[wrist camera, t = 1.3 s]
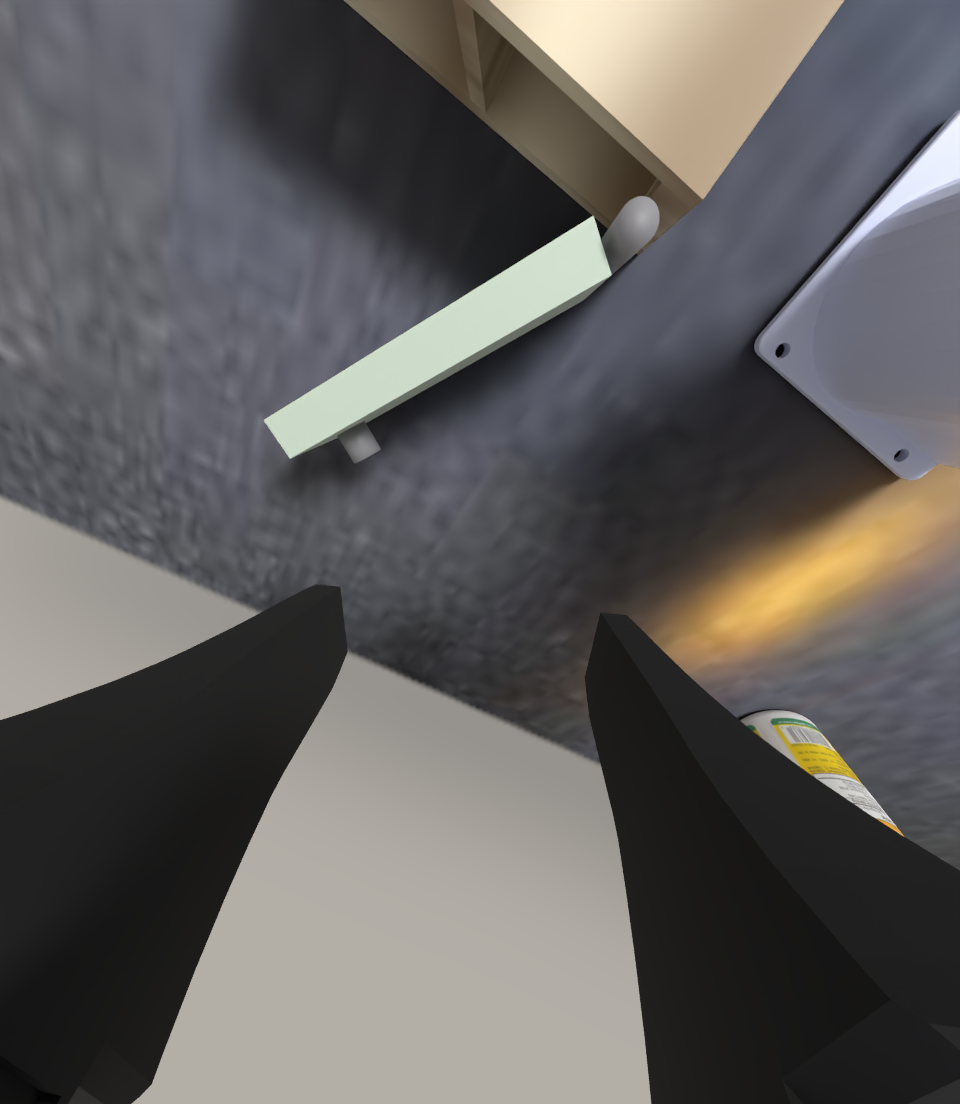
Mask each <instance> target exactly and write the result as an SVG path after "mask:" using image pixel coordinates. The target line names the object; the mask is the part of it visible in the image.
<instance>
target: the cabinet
mask: <svg viewBox="0 0 960 1104" xmlns="http://www.w3.org/2000/svg"><path fill="white" fill-rule="evenodd" d="M344 1H345V2H346V3H347V4H348V5H350V6H351V7H352V8H353V9H354V10H355V11H356V12H358V13H359V14H360V15H361V16H362V17H363V18H365V19H366V20H367V21H368V22H369V23H370V24H371V25H373V26H374V27H375V28H376V29H377V30H378V31H380V32H381V33H382V34H383V35H384V36H385V37H387V38H388V39H389V40H390V41H391V42H392V43H393V44H395V45H396V46H397V47H398V48H399V49H400V50H402V51H403V52H404V53H405V54H406V55H407V56H409V57H410V58H411V59H412V60H413V61H414V62H415V63H417V64H418V65H419V66H420V67H421V68H422V69H424V70H425V71H426V72H427V73H428V74H429V75H431V76H432V77H433V78H434V79H435V80H436V81H437V82H439V83H440V84H441V85H442V86H443V87H444V88H446V89H447V90H448V91H449V92H450V93H451V94H452V95H454V96H455V97H456V98H457V99H458V100H459V101H461V102H462V103H463V104H464V105H465V106H466V107H468V108H469V109H470V110H471V111H472V112H473V113H474V114H476V115H477V116H478V117H479V118H480V119H481V120H483V121H484V122H485V123H486V124H487V125H488V126H490V127H491V128H492V129H493V130H494V131H495V132H496V133H498V134H499V135H500V136H501V137H502V138H503V139H505V140H506V141H507V142H508V143H509V144H510V145H512V146H513V147H514V148H515V149H516V150H517V151H518V152H520V153H521V154H522V155H523V156H524V157H525V158H527V159H528V160H529V161H530V162H531V163H532V164H534V165H535V166H536V167H537V168H538V169H539V170H540V171H542V172H543V173H544V174H545V175H546V176H547V177H549V178H550V179H551V180H552V181H553V182H554V183H555V184H557V185H558V186H559V187H560V188H561V189H562V190H564V191H565V192H566V193H567V194H568V195H569V196H571V197H572V198H573V199H574V200H575V201H576V202H577V203H579V204H580V205H581V206H582V207H583V208H584V209H586V210H587V211H588V212H589V213H590V214H591V215H594V217H595V218H596V219H597V220H598V221H599V222H601V223H602V224H603V225H604V226H605V227H606V228H608V229H609V227H610V226H611V224H612V223H613V221H614V220H615V218H616V217H617V216H618V214H619V213H620V211H621V210H622V208H623V207H624V206H625V205H626V203H628V202H629V201H630V200H631V199H633V198H635V197H639V196H646V197H649V198H651V199H652V200H653V201H654V202H655V203H656V205H657V207H658V210H659V216H660V218H659V225H658V228H657V231H656V233H655V235H654V236H653V238H652V239H651V240H650V241H649V242H648V243H647V244H646V245H645V246H644V247H642V248H641V249H640V250H639V251H638V252H637V254H638V255H639V254H640V253H642V252H643V251H644V250H645V249H646V248H647V247H649V246H650V245H651V244H652V243H653V242H654V241H656V240H657V239H658V238H659V237H660V236H661V235H662V234H664V233H665V232H666V231H667V230H668V229H669V228H671V227H672V226H673V225H674V224H675V223H676V222H678V221H679V220H680V219H681V218H682V217H683V216H685V215H686V214H687V213H688V212H689V211H690V210H692V209H693V208H694V207H695V206H696V205H697V204H698V203H700V202H701V201H702V200H703V199H704V197H705V196H706V195H707V193H708V192H709V190H710V189H711V188H712V186H713V185H714V183H715V182H716V181H717V179H718V178H719V176H720V175H721V173H722V172H723V171H724V169H725V168H726V166H727V165H728V164H729V162H730V161H731V159H732V158H733V157H734V155H735V154H736V152H737V151H738V150H739V148H740V147H741V145H742V144H743V142H744V141H745V140H746V138H747V137H748V135H749V134H750V133H751V131H752V130H753V128H754V127H755V126H756V124H757V123H758V121H759V120H760V118H761V117H762V116H763V114H764V113H765V111H766V110H767V109H768V107H769V106H770V104H771V103H772V102H773V100H774V99H775V97H776V96H777V95H778V93H779V92H780V90H781V89H782V87H783V86H784V85H785V83H786V82H787V80H788V79H789V78H790V76H791V75H792V73H793V72H794V71H795V69H796V68H797V66H798V65H799V63H800V62H801V61H802V59H803V58H804V56H805V55H806V54H807V52H808V51H809V49H810V48H811V47H812V45H813V44H814V42H815V41H816V40H817V38H818V37H819V35H820V34H821V32H822V31H823V30H824V28H825V27H826V25H827V24H828V23H829V21H830V20H831V18H832V17H833V16H834V14H835V13H836V11H837V10H838V8H839V7H840V6H841V4H842V3H843V1H844V0H344Z"/></svg>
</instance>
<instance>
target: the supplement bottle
mask: <svg viewBox="0 0 960 1104" xmlns="http://www.w3.org/2000/svg"><path fill="white" fill-rule="evenodd" d="M740 721H741V722H742V723H743V724H745V725H746V726H747V727H748V728H750V729H751V730H752V731H753V732H755V733H756V734H757V735H759V736H760V737H761V738H762V739H764V740H765V741H766V742H768V743H769V744H770V745H772V746H773V747H774V748H776V749H777V750H778V751H779V752H781V753H782V754H783V755H785V756H786V757H787V758H789V759H790V760H791V761H793V762H794V763H795V764H797V765H798V766H800V767H801V768H802V769H804V770H805V771H807V772H808V773H809V774H811V775H812V776H814V777H815V778H816V779H818V780H819V781H821V782H822V783H824V784H825V785H827V786H828V787H830V788H831V789H833V790H834V791H836V792H837V793H838V794H840V795H841V796H843V797H844V798H846V799H847V800H849V801H850V802H852V803H853V804H855V805H856V806H858V807H859V808H861V809H862V810H863V811H865V812H867V813H868V814H870V815H871V816H873V817H874V818H876V819H877V820H879V821H880V822H882V823H884V824H885V825H887V826H888V827H890V828H891V829H893V830H895V831H896V832H898V833H899V834H901V835H902V836H904V835H903V834H902V833H901V832H900V830H899V829H898V828H897V827H896V825H895V824H894V823H893V822H892V820H891V819H890V818H889V817H888V815H887V814H886V813H885V812H884V810H883V809H882V808H881V807H880V805H879V804H878V803H877V802H876V800H875V799H874V798H873V797H872V795H871V794H870V793H869V792H868V790H867V789H866V788H865V787H864V785H863V784H862V783H861V782H860V780H859V779H858V778H857V777H856V775H855V774H854V773H853V772H852V770H851V769H850V768H849V767H848V765H847V764H846V763H845V762H844V760H843V759H842V758H841V757H840V755H839V754H838V753H837V752H836V750H835V749H834V748H833V747H832V745H831V744H830V743H829V742H828V740H827V739H826V738H825V737H824V735H823V734H822V733H821V732H820V731H819V729H818V728H817V727H816V726H815V725H814V724H813V723H812V722H811V721H810V720H808V719H807V718H805V717H804V716H802V715H799V714H797V713H794V712H790V711H784V710H768V711H762V712H758V713H755V714H752V715H749V716H747V717H745V718H743V719H741V720H740Z"/></svg>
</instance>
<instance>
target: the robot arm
mask: <svg viewBox="0 0 960 1104" xmlns="http://www.w3.org/2000/svg"><path fill="white" fill-rule="evenodd" d="M780 344H783V346H784V352H783V354H782V355H781V356H780V357H778V358H777V357H776V355H775V351H776V349H777V347H778V346H779V345H780ZM754 348H755V352H756V354H757V355H758V356H759V357H760V358H762V359H763V360H764V361H765V362H766V363H767V364H768V365H770V366H771V367H772V368H773V369H774V370H775V371H777V372H778V373H779V374H780V375H781V376H782V377H783V378H785V379H786V380H787V381H788V382H789V383H790V384H792V385H793V386H794V387H795V388H796V389H797V390H798V391H800V392H801V393H802V394H803V395H804V396H805V397H807V398H808V399H809V400H810V401H811V402H812V403H814V404H815V405H816V406H817V407H818V408H819V409H820V410H822V411H823V412H824V413H825V414H826V415H827V416H829V417H830V418H831V419H832V420H833V421H834V422H835V423H837V424H838V425H839V426H840V427H841V428H842V429H844V430H845V431H846V432H847V433H848V434H849V435H850V436H852V437H853V438H854V439H855V440H856V441H857V442H859V443H860V444H861V445H862V446H863V447H864V448H865V449H867V450H868V451H869V452H870V453H871V454H872V455H874V456H875V457H876V458H877V459H878V460H879V461H880V462H882V463H883V464H884V465H885V466H886V467H887V468H889V469H890V470H891V471H892V472H893V473H894V474H895V475H897V476H898V477H900V478H902V479H905V480H916V479H919V478H920V477H922V476H924V475H925V474H926V473H927V472H929V471H930V470H931V469H932V468H934V467H935V466H936V465H937V464H942V465H946V466H950V467H954V468H958V469H960V109H959V110H957V111H956V112H955V113H954V114H953V115H952V116H951V117H949V119H948V120H947V121H946V122H945V123H944V124H943V125H942V127H941V128H940V129H939V130H938V131H937V132H936V133H935V135H934V136H933V137H932V138H931V139H930V140H929V141H928V143H927V144H926V145H925V146H924V147H923V148H922V149H921V150H920V152H919V153H918V154H917V155H916V156H915V157H914V158H913V160H912V161H911V162H910V163H909V164H908V165H907V166H906V168H905V169H904V170H903V171H902V172H901V173H900V174H899V176H898V177H897V178H896V179H895V180H894V181H893V182H892V184H891V185H890V186H889V187H888V188H887V189H886V190H885V192H884V193H883V194H882V195H881V196H880V197H879V198H878V200H877V201H876V202H875V203H874V204H873V205H872V206H871V208H870V209H869V210H868V211H867V212H866V213H865V214H864V216H863V217H862V218H861V219H860V220H859V221H858V222H857V224H856V225H855V226H854V227H853V228H852V229H851V230H850V232H849V233H848V234H847V235H846V236H845V237H844V238H843V240H842V241H841V242H840V243H839V244H838V245H837V246H836V248H835V249H834V250H833V251H832V252H831V253H830V254H829V256H828V257H827V258H826V259H825V260H824V261H823V262H822V264H821V265H820V266H819V267H818V268H817V269H816V270H815V272H814V273H813V274H812V275H811V276H810V277H809V278H808V280H807V281H806V282H805V283H804V284H803V285H802V286H801V288H800V289H799V290H798V291H797V292H796V293H795V294H794V296H793V297H792V298H791V299H790V300H789V301H788V302H787V304H786V305H785V306H784V307H783V308H782V309H781V310H780V312H779V313H778V314H777V315H776V316H775V317H774V318H773V319H772V321H771V322H770V323H769V324H768V325H767V326H766V327H765V329H764V330H763V331H762V332H761V333H760V334H759V336H758V337H757V339H756V341H755V345H754ZM899 450H901V452H900V454H899V456H898V457H896V458H895V459H894V456H895V454H896V453H897V452H898V451H899ZM346 654H347V643H346V634H345V625H344V617H343V608H342V599H341V590H340V587H336V586H326V585H314V586H312V587H309V588H307V589H305V590H303V591H301V592H299V593H297V594H295V595H293V596H291V597H290V598H288V599H286V600H284V601H282V602H280V603H278V604H276V605H275V606H273V607H271V608H269V609H267V610H265V611H263V612H261V613H260V614H258V615H256V616H254V617H252V618H250V619H248V620H246V621H245V622H243V623H241V624H239V625H237V626H235V627H233V628H231V629H229V630H227V631H225V632H223V633H221V634H219V635H217V636H215V637H213V638H210V639H209V640H206V641H204V642H202V643H200V644H198V645H196V646H194V647H192V648H190V649H188V650H186V651H184V652H182V653H179V654H177V655H175V656H173V657H170V658H168V659H166V660H164V661H162V662H159V663H157V664H155V665H152V666H149V667H147V668H145V669H142V670H140V671H137V672H135V673H132V674H130V675H128V676H125V677H123V678H120V679H118V680H115V681H112V682H110V683H107V684H104V685H102V686H99V687H96V688H93V689H90V690H88V691H85V692H82V693H79V694H76V695H74V696H71V697H68V698H65V699H62V700H59V701H57V702H54V703H51V704H48V705H45V706H43V707H40V708H37V709H34V710H31V711H28V712H25V713H22V714H19V715H16V716H12V717H9V718H6V719H3V720H0V1104H131V1103H133V1102H134V1101H135V1100H136V1099H137V1098H139V1097H140V1096H141V1095H142V1094H143V1093H144V1092H145V1090H146V1089H147V1088H148V1087H149V1086H150V1085H151V1084H152V1082H153V1079H154V1076H155V1074H156V1071H157V1068H158V1065H159V1063H160V1060H161V1057H162V1054H163V1052H164V1049H165V1046H166V1044H167V1042H168V1039H169V1036H170V1034H171V1031H172V1029H173V1026H174V1023H175V1020H176V1018H177V1016H178V1013H179V1010H180V1008H181V1005H182V1002H183V1000H184V997H185V995H186V992H187V990H188V987H189V985H190V982H191V979H192V977H193V974H194V971H195V969H196V967H197V964H198V962H199V959H200V957H201V954H202V952H203V950H204V947H205V945H206V942H207V940H208V938H209V935H210V933H211V930H212V928H213V926H214V923H215V921H216V918H217V916H218V913H219V911H220V908H221V906H222V903H223V901H224V899H225V897H226V894H227V892H228V890H229V887H230V885H231V883H232V881H233V879H234V876H235V874H236V872H237V869H238V867H239V865H240V863H241V860H242V858H243V856H244V854H245V851H246V849H247V847H248V844H249V842H250V840H251V838H252V836H253V834H254V832H255V829H256V827H257V825H258V823H259V821H260V819H261V817H262V814H263V812H264V810H265V808H266V806H267V804H268V802H269V799H270V797H271V795H272V793H273V791H274V789H275V788H276V786H277V784H278V782H279V780H280V778H281V776H282V775H283V773H284V771H285V769H286V767H287V766H288V764H289V762H290V761H291V759H292V757H293V756H294V754H295V752H296V750H297V749H298V747H299V745H300V744H301V742H302V740H303V738H304V737H305V735H306V733H307V731H308V730H309V728H310V726H311V725H312V723H313V721H314V719H315V718H316V716H317V714H318V712H319V711H320V709H321V707H322V706H323V704H324V702H325V700H326V699H327V697H328V695H329V693H330V692H331V690H332V688H333V686H334V683H335V681H336V679H337V676H338V674H339V672H340V669H341V667H342V664H343V662H344V659H345V657H346ZM585 682H586V692H587V701H588V709H589V717H590V721H591V726H592V730H593V734H594V738H595V742H596V747H597V751H598V755H599V759H600V763H601V767H602V771H603V775H604V779H605V783H606V787H607V792H608V796H609V800H610V804H611V808H612V812H613V816H614V821H615V826H616V831H617V836H618V841H619V847H620V854H621V861H622V867H623V874H624V881H625V887H626V894H627V901H628V908H629V916H630V923H631V930H632V938H633V945H634V953H635V960H636V968H637V977H638V985H639V994H640V1002H641V1010H642V1019H643V1027H644V1036H645V1045H646V1055H647V1064H648V1074H649V1084H650V1094H651V1103H652V1104H960V871H959V870H958V869H956V868H955V867H953V866H951V865H950V864H948V863H946V862H945V861H943V860H941V859H940V858H938V857H937V856H935V855H933V854H932V853H930V852H928V851H927V850H925V849H923V848H922V847H920V846H918V845H917V844H915V843H914V842H912V841H910V840H909V839H907V838H905V837H904V836H902V835H901V834H899V833H898V832H896V831H895V830H893V829H891V828H890V827H888V826H887V825H885V824H884V823H882V822H880V821H879V820H877V819H876V818H874V817H873V816H871V815H870V814H868V813H867V812H865V811H863V810H862V809H861V808H859V807H858V806H856V805H855V804H853V803H852V802H850V801H849V800H847V799H846V798H844V797H843V796H841V795H840V794H838V793H837V792H836V791H834V790H833V789H831V788H830V787H828V786H827V785H825V784H824V783H822V782H821V781H819V780H818V779H816V778H815V777H814V776H812V775H811V774H809V773H808V772H807V771H805V770H804V769H802V768H801V767H800V766H798V765H797V764H795V763H794V762H793V761H791V760H790V759H789V758H787V757H786V756H785V755H783V754H782V753H781V752H779V751H778V750H777V749H776V748H774V747H773V746H772V745H770V744H769V743H768V742H766V741H765V740H764V739H762V738H761V737H760V736H759V735H757V734H756V733H755V732H753V731H752V730H751V729H750V728H748V727H747V726H746V725H745V724H743V723H742V722H741V721H740V720H738V719H737V718H736V717H735V716H734V715H732V714H731V713H730V712H729V711H728V710H727V709H725V708H724V707H723V706H722V705H721V704H720V703H719V702H717V701H716V700H715V699H714V698H713V697H712V696H710V695H709V694H708V693H707V692H706V691H705V690H704V689H703V688H701V687H700V686H699V685H698V684H697V683H696V682H695V681H694V680H693V679H692V678H691V677H689V676H688V675H687V674H686V673H685V672H684V671H683V670H682V669H681V668H680V667H679V666H678V665H677V664H676V663H675V662H674V661H673V660H672V659H671V658H670V657H669V656H667V655H666V654H665V653H664V652H663V651H662V650H661V649H660V648H659V647H658V646H657V645H656V644H655V643H654V642H653V641H652V640H651V639H650V638H649V637H648V636H647V635H646V634H645V633H644V632H643V631H642V630H641V629H640V628H639V627H638V626H637V625H636V624H635V623H634V622H633V621H632V620H631V619H630V618H629V617H628V616H626V615H617V614H607V613H600V617H599V621H598V625H597V630H596V634H595V638H594V642H593V646H592V650H591V655H590V659H589V663H588V667H587V671H586V675H585Z"/></svg>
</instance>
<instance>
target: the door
mask: <svg viewBox="0 0 960 1104" xmlns="http://www.w3.org/2000/svg"><path fill="white" fill-rule="evenodd" d="M659 218H660V216H659V210H658V207H657V205H656V203H655V202H654V201H653V200H652V199H651V198H649V197H646V196H639V197H635V198H633V199H631V200H630V201H629V202H628V203H626V205H625V206H624V207H623V208H622V210H621V211H620V213H619V214H618V216H617V217H616V218H615V220H614V221H613V223H612V224H611V226H610V227H609V229H608V230H607V231H606V233H605V234H604V236H603V237H602V239H601V238H600V235H599V232H598V229H597V225H596V222H595V219H594V215H593V216H592V217H590V218H589V219H587V220H585V221H584V222H582V223H581V224H579V225H577V226H576V227H574V228H573V229H571V230H569V231H568V232H566V233H564V234H563V235H561V236H560V237H558V238H556V239H555V240H553V241H552V242H550V243H548V244H547V245H545V246H544V247H542V248H540V249H539V250H537V251H535V252H534V253H532V254H531V255H529V256H527V257H526V258H524V259H523V260H521V261H519V262H518V263H516V264H515V265H513V266H511V267H510V268H508V269H506V270H505V271H503V272H502V273H500V274H498V275H497V276H495V277H494V278H492V279H490V280H489V281H487V282H486V283H484V284H482V285H481V286H479V287H477V288H476V289H474V290H473V291H471V292H469V293H468V294H466V295H465V296H463V297H461V298H460V299H458V300H457V301H455V302H453V303H452V304H450V305H448V306H447V307H445V308H444V309H442V310H440V311H439V312H437V313H436V314H434V315H432V316H431V317H429V318H428V319H426V320H424V321H423V322H421V323H419V324H418V325H416V326H415V327H413V328H411V329H410V330H408V331H407V332H405V333H403V334H402V335H400V336H399V337H397V338H395V339H394V340H392V341H390V342H389V343H387V344H386V345H384V346H382V347H381V348H379V349H378V350H376V351H374V352H373V353H371V354H370V355H368V356H366V357H365V358H363V359H361V360H360V361H358V362H357V363H355V364H353V365H352V366H350V367H349V368H347V369H345V370H344V371H342V372H341V373H339V374H337V375H336V376H334V377H332V378H331V379H329V380H328V381H326V382H324V383H323V384H321V385H320V386H318V387H316V388H315V389H313V390H312V391H310V392H308V393H307V394H305V395H303V396H302V397H300V398H299V399H297V400H295V401H294V402H292V403H291V404H289V405H287V406H286V407H284V408H283V409H281V410H279V411H278V412H276V413H274V414H273V415H271V416H270V417H268V418H266V419H265V420H264V421H265V423H266V424H267V426H268V427H269V429H270V430H271V432H272V433H273V434H274V436H275V437H276V439H277V440H278V442H279V443H280V445H281V446H282V448H283V449H284V450H285V452H286V453H287V455H288V456H289V458H290V459H291V458H293V457H295V456H298V455H300V454H302V453H305V452H307V451H309V450H311V449H314V448H316V447H318V446H321V445H323V444H325V443H327V442H330V441H332V440H334V439H337V438H339V440H340V441H341V443H342V444H343V446H344V448H345V449H346V451H347V452H348V454H349V456H350V457H351V459H352V460H353V462H354V464H356V463H358V462H360V461H362V460H363V459H365V458H367V457H369V456H371V455H373V454H374V453H376V452H378V451H379V450H381V448H380V446H379V445H378V443H377V441H376V440H375V438H374V436H373V435H372V433H371V431H370V429H369V428H368V426H367V424H366V423H367V422H369V421H371V420H373V419H374V418H376V417H378V416H380V415H381V414H383V413H385V412H387V411H389V410H390V409H392V408H394V407H396V406H397V405H399V404H401V403H403V402H405V401H406V400H408V399H410V398H412V397H413V396H415V395H417V394H419V393H420V392H422V391H424V390H426V389H428V388H429V387H431V386H433V385H435V384H436V383H438V382H440V381H442V380H443V379H445V378H447V377H449V376H451V375H452V374H454V373H456V372H458V371H459V370H461V369H463V368H465V367H466V366H468V365H470V364H472V363H474V362H475V361H477V360H479V359H481V358H482V357H484V356H486V355H488V354H490V353H491V352H493V351H495V350H497V349H498V348H500V347H502V346H504V345H505V344H507V343H509V342H511V341H513V340H514V339H516V338H518V337H520V336H521V335H523V334H525V333H527V332H528V331H530V330H532V329H534V328H536V327H537V326H539V325H541V324H543V323H544V322H546V321H548V320H550V319H551V318H553V317H555V316H557V315H559V314H560V313H562V312H564V311H566V310H567V309H569V308H571V307H573V306H575V305H576V304H578V303H580V302H582V301H583V300H584V299H586V298H587V297H588V296H589V295H590V294H591V293H592V292H593V291H595V290H596V289H597V288H598V287H599V286H600V285H601V284H602V283H603V282H605V281H606V280H607V279H608V278H609V277H610V276H611V275H612V274H613V273H615V272H616V271H617V270H618V269H619V268H620V267H621V266H622V265H623V264H625V263H626V262H627V261H628V260H629V259H630V258H631V257H632V256H634V255H635V254H636V253H637V252H638V251H639V250H640V249H641V248H642V247H644V246H645V245H646V244H647V243H648V242H649V241H650V240H651V239H652V238H653V236H654V235H655V233H656V231H657V228H658V225H659Z"/></svg>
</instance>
